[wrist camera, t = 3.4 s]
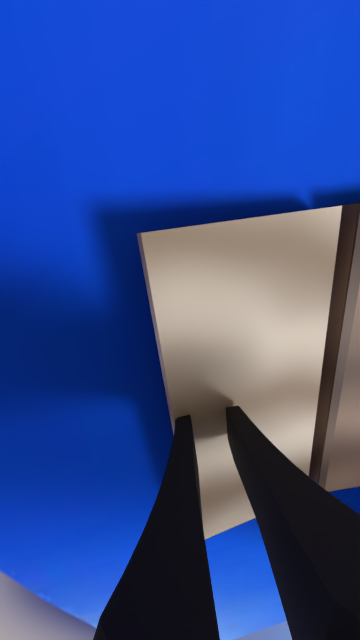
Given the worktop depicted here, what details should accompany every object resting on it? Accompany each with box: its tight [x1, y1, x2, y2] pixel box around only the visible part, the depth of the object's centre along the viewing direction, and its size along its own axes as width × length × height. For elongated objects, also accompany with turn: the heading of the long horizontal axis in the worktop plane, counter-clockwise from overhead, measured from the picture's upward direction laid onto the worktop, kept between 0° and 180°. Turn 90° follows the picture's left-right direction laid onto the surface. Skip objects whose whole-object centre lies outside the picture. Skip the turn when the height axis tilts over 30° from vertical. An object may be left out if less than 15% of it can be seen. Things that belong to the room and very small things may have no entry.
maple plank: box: [137, 206, 342, 539], centre depth 12 cm, size 18×8×2 cm, turn 7°
